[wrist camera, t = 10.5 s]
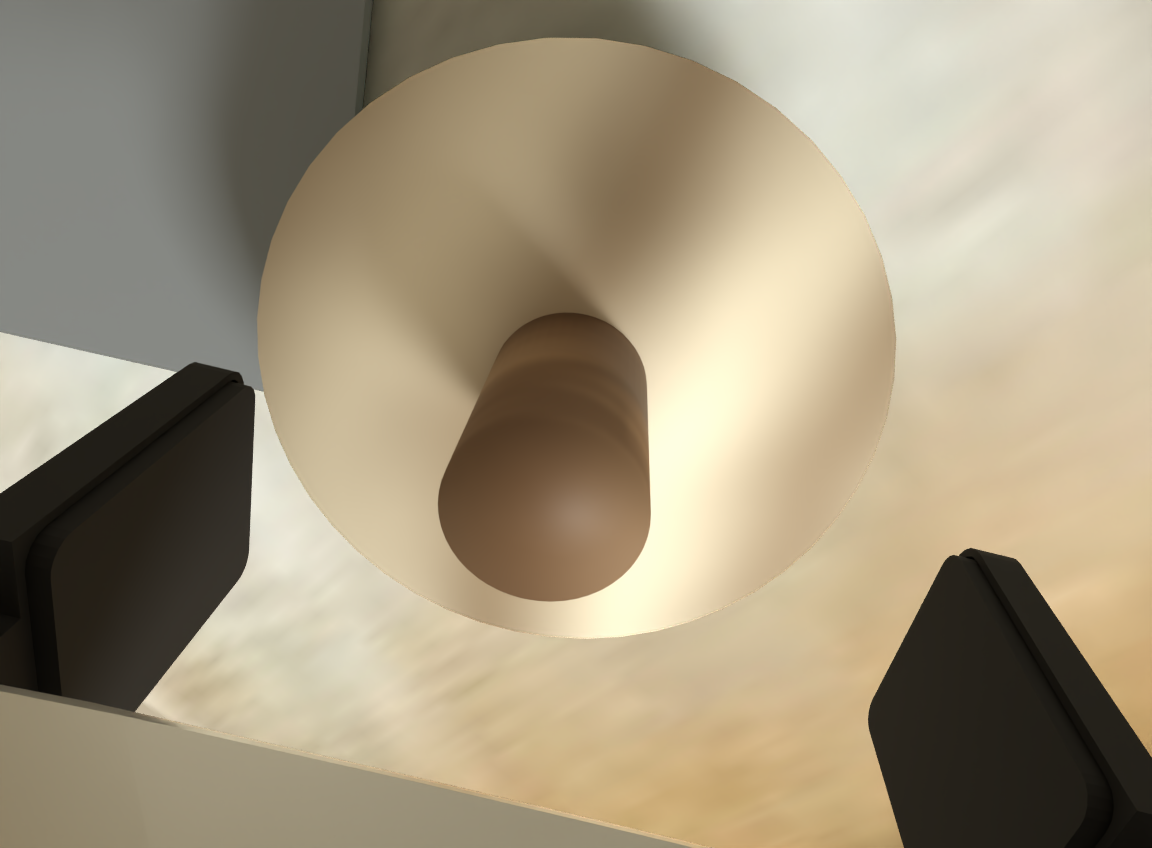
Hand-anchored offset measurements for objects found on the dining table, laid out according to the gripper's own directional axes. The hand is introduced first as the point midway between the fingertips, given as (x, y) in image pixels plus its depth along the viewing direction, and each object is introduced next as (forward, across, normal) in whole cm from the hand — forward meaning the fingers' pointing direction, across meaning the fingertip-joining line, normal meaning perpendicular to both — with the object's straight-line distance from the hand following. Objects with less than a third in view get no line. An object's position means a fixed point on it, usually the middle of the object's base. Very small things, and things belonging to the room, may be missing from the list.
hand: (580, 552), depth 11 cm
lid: (+7, +1, 0) cm, 7 cm away
